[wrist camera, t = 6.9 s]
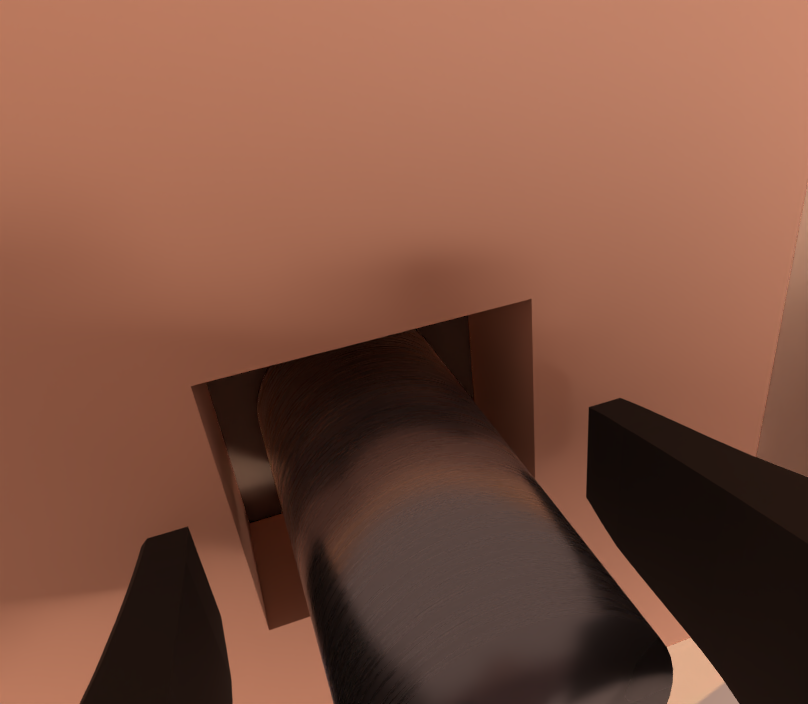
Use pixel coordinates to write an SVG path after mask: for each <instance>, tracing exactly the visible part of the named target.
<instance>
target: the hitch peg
mask: <svg viewBox="0 0 808 704" xmlns="http://www.w3.org/2000/svg"><path fill="white" fill-rule="evenodd" d="M257 414H258V420H259V425H260V429H261V433H262V437H263V440H264V444H265V448H266V452H267V455H268V459H269V463H270V467H271V470H272V474H273V478H274V482H275V485H276V489H277V493H278V497H279V501H280V504H281V508H282V512H283V516H284V519H285V523H286V527H287V531H288V534H289V538H290V542H291V546H292V549H293V553H294V557H295V561H296V564H297V568H298V572H299V576H300V579H301V583H302V587H303V591H304V595H305V598H306V602H307V606H308V610H309V613H310V617H311V621H312V625H313V628H314V632H315V636H316V640H317V643H318V647H319V651H320V655H321V658H322V662H323V666H324V670H325V673H326V677H327V681H328V685H329V689H330V692H331V696H332V700H333V704H667V702H668V699H669V696H670V692H671V687H672V681H673V667H672V661H671V656H670V654H669V652H668V649H667V647H666V645H665V644H664V643H663V641H662V640H661V639H660V637H659V636H658V635H657V633H656V632H655V631H654V630H653V628H652V627H651V626H650V624H649V623H648V622H647V621H646V619H645V618H644V617H643V616H642V614H641V613H640V612H639V610H638V609H637V608H636V607H635V605H634V604H633V603H632V602H631V600H630V599H629V598H628V597H627V595H626V594H625V593H624V591H623V590H622V589H621V588H620V586H619V585H618V584H617V583H616V581H615V580H614V579H613V577H612V576H611V575H610V574H609V572H608V571H607V570H606V569H605V567H604V566H603V565H602V563H601V562H600V561H599V560H598V558H597V557H596V556H595V555H594V553H593V552H592V551H591V550H590V548H589V547H588V546H587V544H586V543H585V542H584V541H583V539H582V538H581V537H580V536H579V534H578V533H577V532H576V530H575V529H574V528H573V527H572V525H571V524H570V523H569V522H568V520H567V519H566V518H565V516H564V515H563V514H562V513H561V511H560V510H559V509H558V508H557V506H556V505H555V504H554V503H553V501H552V500H551V499H550V497H549V496H548V495H547V494H546V492H545V491H544V490H543V489H542V487H541V486H540V485H539V483H538V482H537V481H536V480H535V478H534V477H533V476H532V475H531V473H530V472H529V471H528V470H527V468H526V467H525V466H524V464H523V463H522V462H521V461H520V459H519V458H518V457H517V456H516V454H515V453H514V452H513V450H512V449H511V448H510V447H509V445H508V444H507V443H506V442H505V440H504V439H503V438H502V436H501V435H500V434H499V433H498V431H497V430H496V429H495V428H494V426H493V425H492V424H491V423H490V421H489V420H488V419H487V417H486V416H485V415H484V414H483V412H482V411H481V410H480V409H479V407H478V406H477V405H476V403H475V402H474V401H473V400H472V398H471V397H470V396H469V395H468V393H467V392H466V391H465V389H464V388H463V387H462V386H461V384H460V383H459V382H458V381H457V379H456V378H455V377H454V376H453V374H452V373H451V372H450V370H449V369H448V368H447V367H446V365H445V364H444V363H443V362H442V360H441V359H440V358H439V356H438V355H437V354H436V353H435V351H434V350H433V349H432V348H431V346H430V345H429V344H428V343H427V341H426V340H425V339H424V338H423V337H422V336H421V335H420V334H419V333H418V332H417V331H416V330H415V329H412V330H408V331H404V332H400V333H396V334H392V335H388V336H385V337H381V338H377V339H373V340H369V341H365V342H361V343H357V344H353V345H349V346H346V347H342V348H338V349H334V350H330V351H326V352H322V353H318V354H314V355H310V356H306V357H303V358H299V359H295V360H291V361H287V362H283V363H279V364H275V365H271V366H269V367H268V369H267V370H266V373H265V375H264V377H263V380H262V382H261V386H260V389H259V394H258V401H257Z"/></svg>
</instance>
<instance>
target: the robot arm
mask: <svg viewBox="0 0 808 704" xmlns="http://www.w3.org/2000/svg"><path fill="white" fill-rule="evenodd" d="M586 498H587V499H588V501H589V503H590V504H591V506H592V508H593V509H594V511H595V513H596V514H597V516H598V518H599V520H600V521H601V523H602V524H603V526H604V528H605V529H606V531H607V532H608V534H609V535H610V537H611V538H612V540H613V542H614V543H615V545H616V546H617V547H618V549H619V550H620V551H621V553H622V554H623V555H624V556H625V558H626V559H627V560H628V561H629V563H630V564H631V565H632V566H633V568H634V569H635V570H636V571H637V573H638V574H639V575H640V576H641V577H642V579H643V580H644V581H645V582H646V584H647V585H648V586H649V587H650V588H651V590H652V591H653V592H654V593H655V595H656V596H657V597H658V598H659V599H660V601H661V602H662V603H663V604H664V605H665V607H666V608H667V609H668V610H669V612H670V613H671V614H672V615H673V616H674V618H675V619H676V620H677V621H678V623H679V624H680V625H681V626H682V627H683V629H684V630H685V631H686V632H687V633H688V635H689V636H690V637H691V638H692V640H693V641H694V642H695V643H696V644H697V646H698V647H699V648H700V649H701V650H702V652H703V653H704V654H705V656H706V657H707V658H708V660H709V661H710V662H711V664H712V665H713V666H714V668H715V669H716V670H717V672H718V673H719V674H720V676H721V677H722V678H723V680H724V681H725V683H726V684H727V686H728V687H729V689H730V690H731V692H732V693H733V695H734V696H735V698H736V699H737V701H738V702H739V704H808V477H805V476H803V475H800V474H798V473H795V472H792V471H790V470H787V469H784V468H782V467H779V466H777V465H774V464H772V463H769V462H767V461H764V460H762V459H759V458H757V457H755V456H752V455H750V454H747V453H745V452H743V451H740V450H738V449H736V448H733V447H731V446H729V445H726V444H724V443H722V442H720V441H717V440H715V439H713V438H711V437H708V436H706V435H704V434H702V433H699V432H697V431H695V430H693V429H691V428H688V427H686V426H684V425H682V424H680V423H677V422H675V421H673V420H671V419H669V418H666V417H664V416H662V415H660V414H657V413H655V412H653V411H651V410H649V409H646V408H644V407H642V406H639V405H637V404H635V403H632V402H630V401H627V400H625V399H622V398H618V399H614V400H611V401H608V402H604V403H601V404H598V405H594V406H591V407H589V414H588V448H587V482H586ZM80 704H233V698H232V680H231V673H230V667H229V661H228V654H227V648H226V642H225V636H224V630H223V624H222V618H221V614H220V612H219V609H218V606H217V604H216V601H215V598H214V595H213V593H212V590H211V587H210V585H209V582H208V579H207V577H206V574H205V571H204V568H203V566H202V563H201V560H200V558H199V555H198V552H197V550H196V547H195V544H194V541H193V539H192V536H191V533H190V531H189V528H188V526H187V527H184V528H181V529H177V530H174V531H171V532H167V533H164V534H161V535H157V536H154V537H150V538H147V539H146V540H145V542H144V543H143V545H142V546H141V549H140V552H139V556H138V559H137V562H136V565H135V568H134V571H133V574H132V577H131V580H130V583H129V586H128V589H127V592H126V595H125V597H124V600H123V603H122V605H121V608H120V611H119V613H118V616H117V619H116V621H115V624H114V626H113V628H112V631H111V633H110V636H109V638H108V640H107V643H106V645H105V648H104V650H103V653H102V655H101V657H100V660H99V662H98V665H97V667H96V669H95V672H94V674H93V676H92V678H91V680H90V683H89V685H88V687H87V689H86V691H85V693H84V695H83V697H82V699H81V701H80Z"/></svg>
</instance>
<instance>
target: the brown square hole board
mask: <svg viewBox="0 0 808 704" xmlns="http://www.w3.org/2000/svg"><path fill="white" fill-rule="evenodd" d="M807 183H808V0H0V704H80V701H81V699H82V697H83V695H84V693H85V691H86V689H87V687H88V685H89V683H90V680H91V678H92V676H93V674H94V672H95V669H96V667H97V665H98V662H99V660H100V657H101V655H102V653H103V650H104V648H105V645H106V643H107V640H108V638H109V636H110V633H111V631H112V628H113V626H114V624H115V621H116V619H117V616H118V613H119V611H120V608H121V605H122V603H123V600H124V597H125V595H126V592H127V589H128V586H129V583H130V580H131V577H132V574H133V571H134V568H135V565H136V562H137V559H138V556H139V552H140V549H141V546H142V545H143V543H144V542H145V540H146V539H147V538H150V537H154V536H157V535H161V534H164V533H167V532H171V531H174V530H177V529H181V528H184V527H187V526H188V528H189V531H190V533H191V536H192V539H193V541H194V544H195V547H196V550H197V552H198V555H199V558H200V560H201V563H202V566H203V568H204V571H205V574H206V577H207V579H208V582H209V585H210V587H211V590H212V593H213V595H214V598H215V601H216V604H217V606H218V609H219V612H220V614H221V618H222V624H223V630H224V636H225V642H226V648H227V654H228V661H229V667H230V673H231V680H232V698H233V704H333V700H332V696H331V692H330V689H329V685H328V681H327V677H326V673H325V670H324V666H323V662H322V658H321V655H320V651H319V647H318V643H317V640H316V636H315V632H314V628H313V625H312V621H311V617H310V613H309V610H308V606H307V602H306V598H305V595H304V591H303V587H302V583H301V579H300V576H299V572H298V568H297V564H296V561H295V557H294V553H293V549H292V546H291V542H290V538H289V534H288V531H287V527H286V523H285V519H284V516H283V514H279V515H276V516H273V517H269V518H266V519H263V520H259V521H256V522H253V523H250V524H249V520H248V517H247V514H246V511H245V507H244V504H243V501H242V498H241V494H240V491H239V488H238V485H237V481H236V478H235V475H234V471H233V468H232V465H231V462H230V458H229V455H228V452H227V449H226V445H225V442H224V439H223V436H222V432H221V429H220V426H219V423H218V419H217V416H216V413H215V410H214V406H213V403H212V400H211V397H210V393H209V390H208V387H207V384H206V382H209V381H213V380H217V379H221V378H225V377H228V376H232V375H236V374H240V373H244V372H248V371H252V370H256V369H260V368H264V367H267V366H271V365H275V364H279V363H283V362H287V361H291V360H295V359H299V358H303V357H306V356H310V355H314V354H318V353H322V352H326V351H330V350H334V349H338V348H342V347H346V346H349V345H353V344H357V343H361V342H365V341H369V340H373V339H377V338H381V337H385V336H388V335H392V334H396V333H400V332H404V331H408V330H412V329H416V328H420V327H424V326H427V325H431V324H435V323H439V322H443V321H447V320H451V319H455V318H459V317H463V316H467V315H468V321H469V335H470V349H471V363H472V376H473V390H474V402H475V403H476V405H477V406H478V407H479V409H480V410H481V411H482V412H483V414H484V415H485V416H486V417H487V419H488V420H489V421H490V423H491V424H492V425H493V426H494V428H495V429H496V430H497V431H498V433H499V434H500V435H501V436H502V438H503V439H504V440H505V442H506V443H507V444H508V445H509V447H510V448H511V449H512V450H513V452H514V453H515V454H516V456H517V457H518V458H519V459H520V461H521V462H522V463H523V464H524V466H525V467H526V468H527V470H528V471H529V472H530V473H531V475H532V476H533V477H534V478H535V480H536V481H537V482H538V483H539V485H540V486H541V487H542V489H543V490H544V491H545V492H546V494H547V495H548V496H549V497H550V499H551V500H552V501H553V503H554V504H555V505H556V506H557V508H558V509H559V510H560V511H561V513H562V514H563V515H564V516H565V518H566V519H567V520H568V522H569V523H570V524H571V525H572V527H573V528H574V529H575V530H576V532H577V533H578V534H579V536H580V537H581V538H582V539H583V541H584V542H585V543H586V544H587V546H588V547H589V548H590V550H591V551H592V552H593V553H594V555H595V556H596V557H597V558H598V560H599V561H600V562H601V563H602V565H603V566H604V567H605V569H606V570H607V571H608V572H609V574H610V575H611V576H612V577H613V579H614V580H615V581H616V583H617V584H618V585H619V586H620V588H621V589H622V590H623V591H624V593H625V594H626V595H627V597H628V598H629V599H630V600H631V602H632V603H633V604H634V605H635V607H636V608H637V609H638V610H639V612H640V613H641V614H642V616H643V617H644V618H645V619H646V621H647V622H648V623H649V624H650V626H651V627H652V628H653V630H654V631H655V632H656V633H657V635H658V636H659V637H660V639H661V640H662V641H663V643H664V644H665V645H666V647H668V646H670V645H673V644H675V643H678V642H680V641H683V640H686V639H688V638H691V637H690V636H689V635H688V633H687V632H686V631H685V630H684V629H683V627H682V626H681V625H680V624H679V623H678V621H677V620H676V619H675V618H674V616H673V615H672V614H671V613H670V612H669V610H668V609H667V608H666V607H665V605H664V604H663V603H662V602H661V601H660V599H659V598H658V597H657V596H656V595H655V593H654V592H653V591H652V590H651V588H650V587H649V586H648V585H647V584H646V582H645V581H644V580H643V579H642V577H641V576H640V575H639V574H638V573H637V571H636V570H635V569H634V568H633V566H632V565H631V564H630V563H629V561H628V560H627V559H626V558H625V556H624V555H623V554H622V553H621V551H620V550H619V549H618V547H617V546H616V545H615V543H614V542H613V540H612V538H611V537H610V535H609V534H608V532H607V531H606V529H605V528H604V526H603V524H602V523H601V521H600V520H599V518H598V516H597V514H596V513H595V511H594V509H593V508H592V506H591V504H590V503H589V501H588V499H587V498H586V482H587V448H588V414H589V407H591V406H594V405H598V404H601V403H604V402H608V401H611V400H614V399H618V398H622V399H625V400H627V401H630V402H632V403H635V404H637V405H639V406H642V407H644V408H646V409H649V410H651V411H653V412H655V413H657V414H660V415H662V416H664V417H666V418H669V419H671V420H673V421H675V422H677V423H680V424H682V425H684V426H686V427H688V428H691V429H693V430H695V431H697V432H699V433H702V434H704V435H706V436H708V437H711V438H713V439H715V440H717V441H720V442H722V443H724V444H726V445H729V446H731V447H733V448H736V449H738V450H740V451H743V452H745V453H747V454H750V455H752V456H755V457H756V454H757V449H758V444H759V439H760V433H761V428H762V423H763V417H764V412H765V407H766V401H767V396H768V391H769V385H770V380H771V375H772V369H773V364H774V359H775V353H776V348H777V343H778V337H779V332H780V327H781V321H782V316H783V311H784V306H785V300H786V295H787V290H788V284H789V279H790V274H791V268H792V263H793V258H794V252H795V247H796V242H797V236H798V231H799V226H800V220H801V215H802V210H803V204H804V199H805V194H806V189H807Z"/></svg>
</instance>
